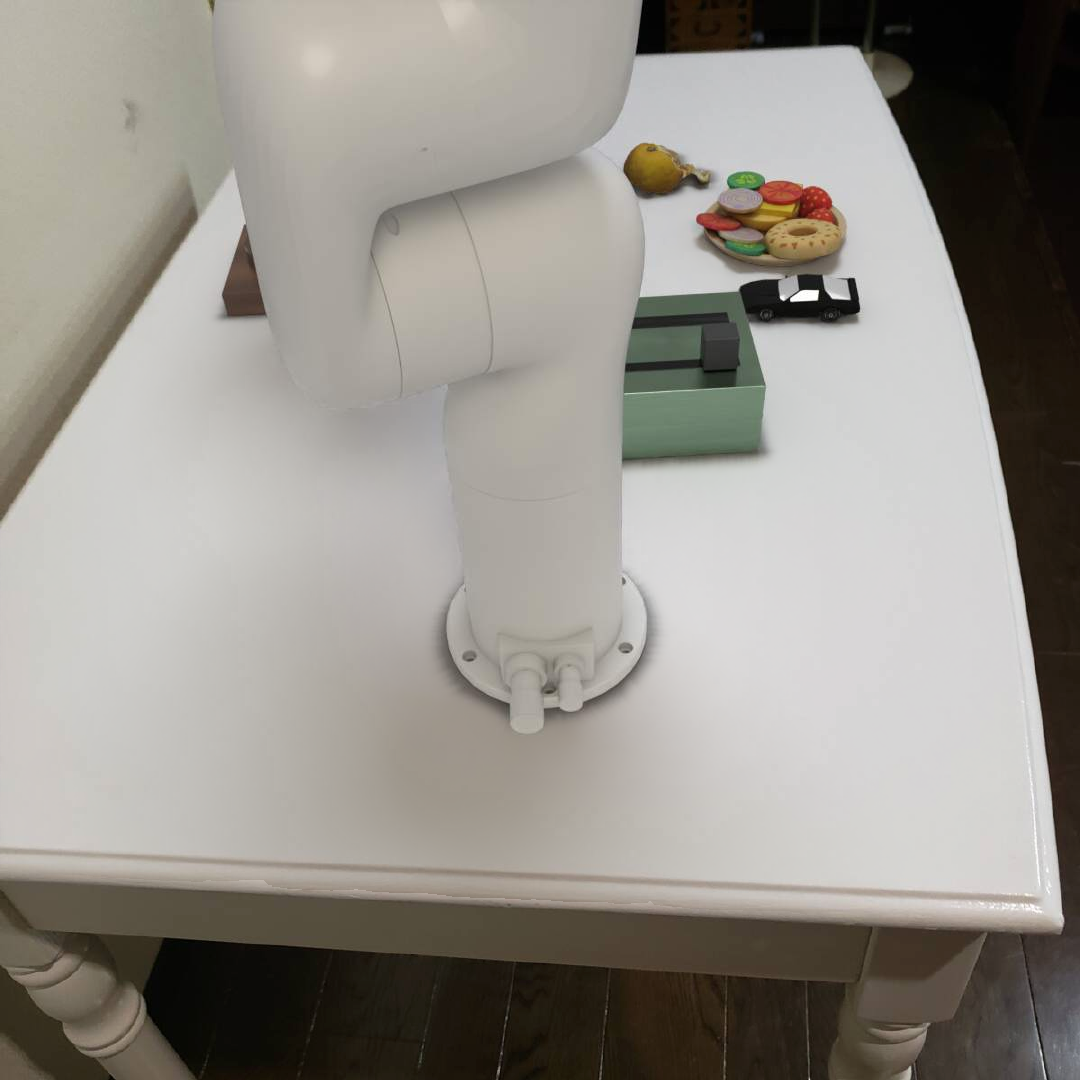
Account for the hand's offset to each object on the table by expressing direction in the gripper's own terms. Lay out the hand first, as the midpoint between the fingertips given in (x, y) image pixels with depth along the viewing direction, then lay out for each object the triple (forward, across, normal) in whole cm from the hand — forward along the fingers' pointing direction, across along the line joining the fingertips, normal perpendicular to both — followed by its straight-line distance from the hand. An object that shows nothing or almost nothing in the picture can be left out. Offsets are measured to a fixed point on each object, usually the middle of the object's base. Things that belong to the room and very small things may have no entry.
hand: (312, 76), depth 83 cm
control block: (+21, -7, +7) cm, 23 cm away
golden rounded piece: (+21, +29, +21) cm, 42 cm away
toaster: (+21, +25, -15) cm, 36 cm away
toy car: (+21, +37, -3) cm, 43 cm away
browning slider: (+15, +28, -18) cm, 37 cm away
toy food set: (+21, +37, +9) cm, 44 cm away
